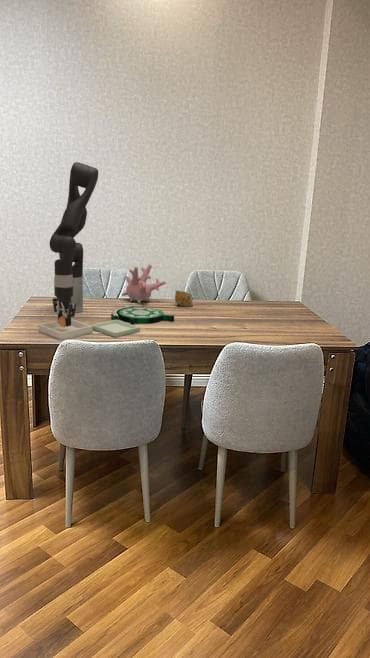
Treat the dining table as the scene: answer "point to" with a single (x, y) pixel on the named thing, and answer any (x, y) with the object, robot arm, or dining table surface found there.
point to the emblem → (140, 315)
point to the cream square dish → (65, 329)
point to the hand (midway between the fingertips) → (64, 324)
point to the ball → (62, 321)
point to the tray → (115, 328)
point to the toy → (140, 285)
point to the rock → (183, 298)
